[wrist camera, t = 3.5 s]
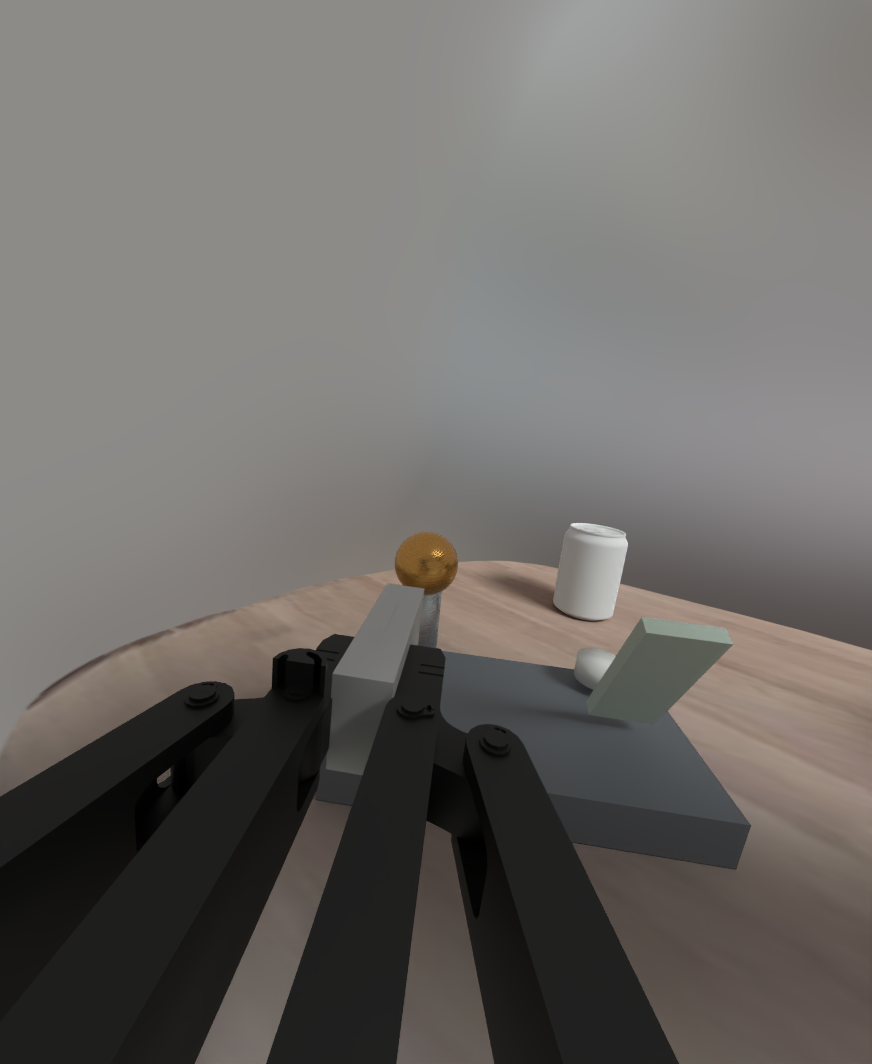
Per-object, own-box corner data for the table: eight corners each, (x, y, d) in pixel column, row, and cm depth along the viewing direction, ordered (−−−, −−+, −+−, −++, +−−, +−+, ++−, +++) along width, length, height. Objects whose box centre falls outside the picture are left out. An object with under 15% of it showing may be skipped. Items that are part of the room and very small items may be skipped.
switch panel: (637, 709, 36) (644, 679, 36) (736, 869, 23) (751, 825, 22) (372, 671, 38) (374, 641, 37) (316, 799, 24) (318, 756, 24)
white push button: (611, 670, 35) (616, 651, 35) (627, 695, 32) (632, 674, 31) (569, 664, 35) (573, 645, 35) (579, 688, 32) (584, 668, 31)
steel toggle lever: (445, 666, 30) (463, 522, 21) (440, 708, 28) (457, 569, 18) (402, 660, 31) (400, 515, 21) (394, 701, 28) (387, 560, 19)
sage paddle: (650, 710, 29) (725, 628, 22) (653, 724, 28) (733, 644, 21) (586, 700, 29) (641, 617, 22) (588, 714, 28) (646, 632, 21)
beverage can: (622, 626, 54) (641, 539, 51) (561, 620, 54) (578, 532, 51) (598, 602, 62) (614, 525, 59) (545, 597, 62) (559, 520, 59)
